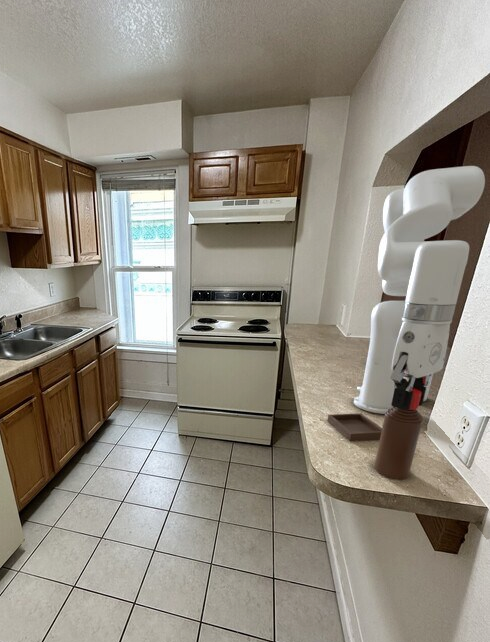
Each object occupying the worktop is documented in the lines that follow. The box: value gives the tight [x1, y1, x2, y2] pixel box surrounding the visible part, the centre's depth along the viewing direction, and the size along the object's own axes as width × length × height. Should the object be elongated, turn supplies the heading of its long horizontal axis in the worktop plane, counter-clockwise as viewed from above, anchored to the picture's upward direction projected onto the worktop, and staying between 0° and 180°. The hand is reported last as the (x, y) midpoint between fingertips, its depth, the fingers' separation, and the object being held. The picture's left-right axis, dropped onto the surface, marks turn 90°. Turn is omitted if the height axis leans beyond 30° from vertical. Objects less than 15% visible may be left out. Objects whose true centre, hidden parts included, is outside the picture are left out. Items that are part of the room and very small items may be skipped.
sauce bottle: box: [373, 407, 424, 480], centre depth 73 cm, size 6×6×18 cm
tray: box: [326, 412, 382, 442], centre depth 94 cm, size 11×9×2 cm
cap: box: [409, 388, 422, 410], centre depth 70 cm, size 4×4×3 cm
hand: (406, 405), depth 70 cm, fingers closed on cap, 3 cm apart
